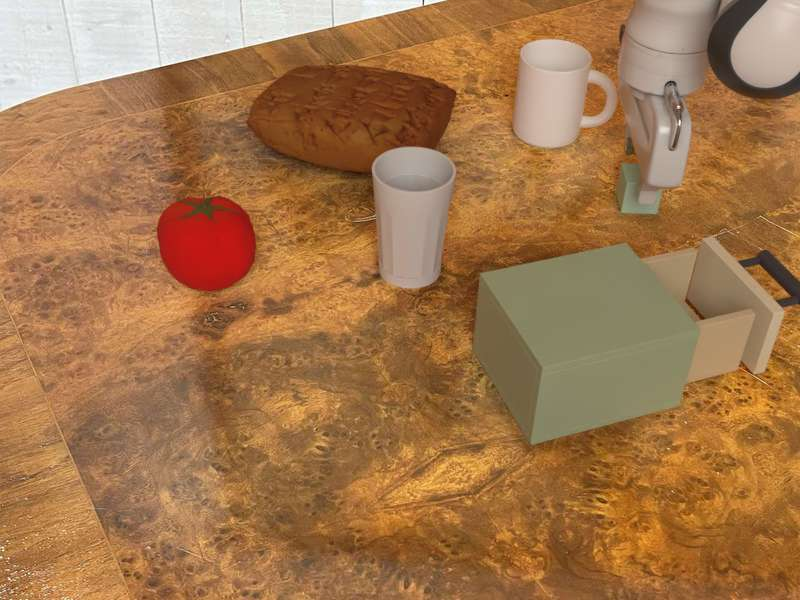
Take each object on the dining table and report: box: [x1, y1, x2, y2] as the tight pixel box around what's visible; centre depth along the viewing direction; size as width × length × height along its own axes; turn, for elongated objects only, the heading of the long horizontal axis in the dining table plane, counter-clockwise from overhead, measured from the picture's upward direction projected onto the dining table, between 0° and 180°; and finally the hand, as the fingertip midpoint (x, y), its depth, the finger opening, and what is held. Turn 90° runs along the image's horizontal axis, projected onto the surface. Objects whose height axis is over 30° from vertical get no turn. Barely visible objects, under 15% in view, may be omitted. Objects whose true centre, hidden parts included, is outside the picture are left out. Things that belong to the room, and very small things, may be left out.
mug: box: [511, 38, 619, 150], centre depth 126 cm, size 12×8×10 cm
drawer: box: [640, 235, 800, 384], centre depth 97 cm, size 19×11×7 cm, turn 110°
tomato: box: [156, 195, 257, 292], centre depth 104 cm, size 9×10×8 cm
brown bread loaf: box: [246, 64, 458, 174], centre depth 122 cm, size 22×17×8 cm
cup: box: [371, 147, 457, 290], centre depth 104 cm, size 8×8×12 cm
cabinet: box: [471, 242, 701, 446], centre depth 94 cm, size 15×13×9 cm
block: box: [615, 162, 664, 215], centre depth 117 cm, size 4×4×4 cm
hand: (638, 175), depth 116 cm, fingers open, 8 cm apart
